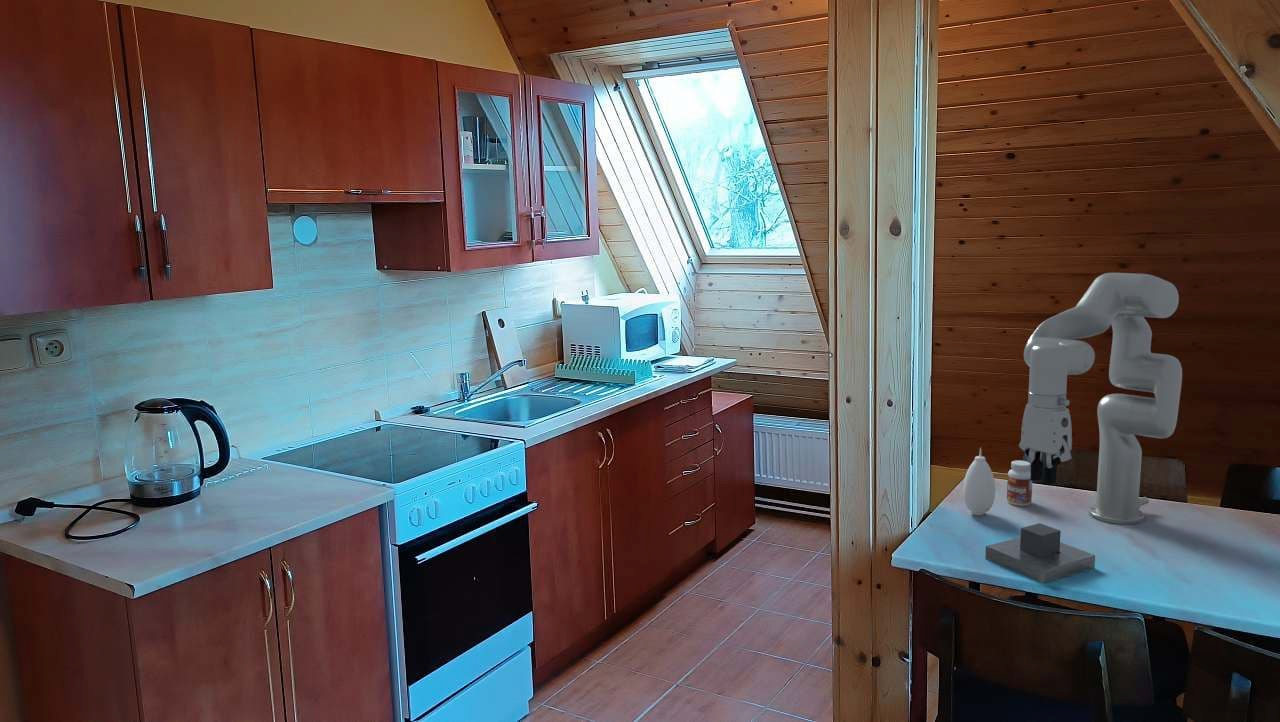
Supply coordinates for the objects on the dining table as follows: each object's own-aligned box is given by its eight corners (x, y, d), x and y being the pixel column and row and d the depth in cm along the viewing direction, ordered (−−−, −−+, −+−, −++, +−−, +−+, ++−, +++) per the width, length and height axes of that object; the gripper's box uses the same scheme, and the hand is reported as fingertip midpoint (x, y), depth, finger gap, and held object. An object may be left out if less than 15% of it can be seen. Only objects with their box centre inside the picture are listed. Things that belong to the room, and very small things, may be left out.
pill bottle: (1003, 503, 248) (1004, 463, 246) (1010, 497, 253) (1012, 458, 251) (1027, 508, 244) (1029, 467, 242) (1034, 501, 249) (1036, 461, 247)
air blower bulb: (961, 508, 245) (963, 442, 242) (992, 510, 243) (995, 443, 240) (963, 518, 238) (965, 450, 235) (995, 520, 236) (998, 451, 233)
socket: (1034, 545, 219) (1035, 529, 218) (1094, 568, 205) (1095, 551, 204) (985, 558, 212) (985, 542, 211) (1043, 583, 198) (1044, 566, 197)
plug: (1038, 554, 212) (1039, 523, 211) (1059, 562, 207) (1060, 530, 206) (1019, 559, 209) (1020, 528, 208) (1040, 568, 205) (1041, 535, 203)
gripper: (1091, 405, 196) (1086, 488, 200) (1028, 392, 211) (1024, 470, 214) (1067, 410, 193) (1062, 494, 196) (1004, 396, 207) (1001, 475, 211)
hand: (1043, 481), depth 205 cm, fingers open, 2 cm apart
